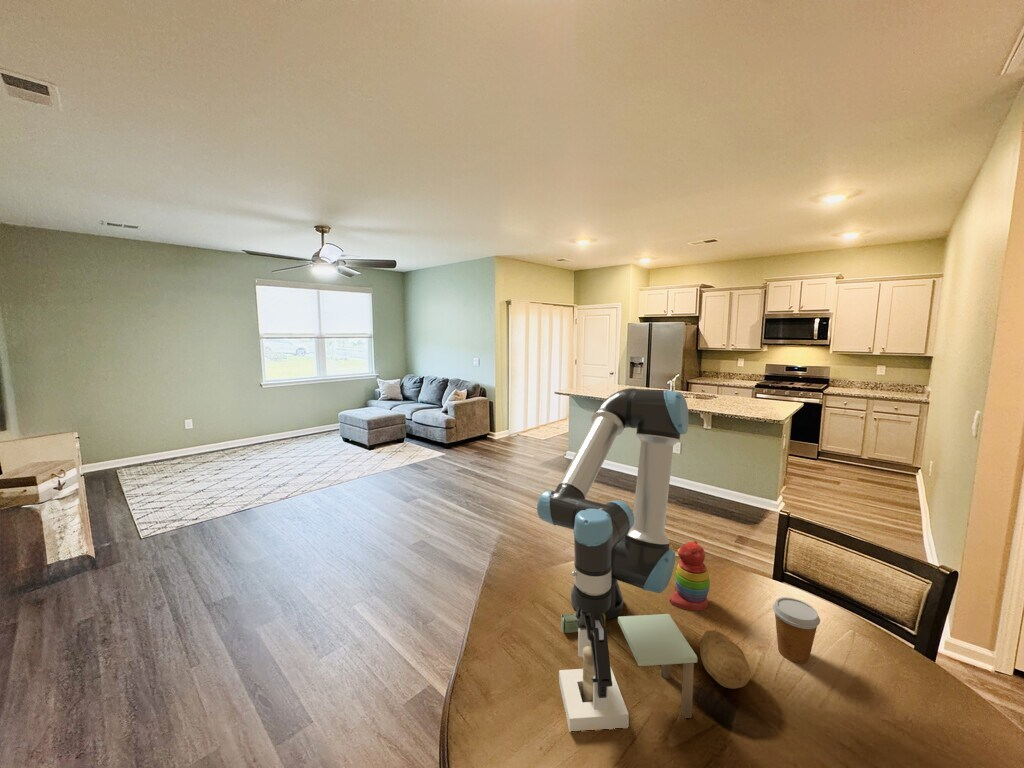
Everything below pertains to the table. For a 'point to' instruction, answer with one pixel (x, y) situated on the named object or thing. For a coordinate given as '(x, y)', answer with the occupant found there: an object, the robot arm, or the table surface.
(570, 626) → the medication box
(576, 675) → the socket block
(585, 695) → the peg
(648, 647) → the mint green toy table
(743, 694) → the table surface
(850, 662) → the table surface
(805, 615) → the disposable coffee cup
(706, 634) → the potato
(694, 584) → the stacking bear
